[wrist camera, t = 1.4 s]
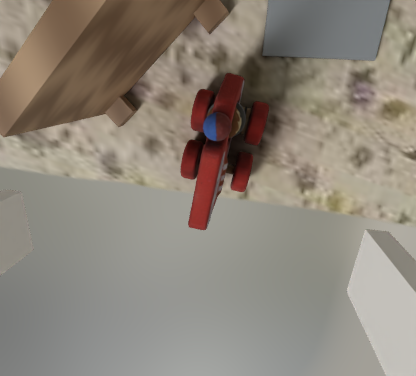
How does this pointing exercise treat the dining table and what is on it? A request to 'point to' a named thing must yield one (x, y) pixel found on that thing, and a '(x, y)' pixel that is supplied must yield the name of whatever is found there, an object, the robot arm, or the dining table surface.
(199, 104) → the toy fire truck
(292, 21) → the mat
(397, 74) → the dining table surface
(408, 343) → the robot arm
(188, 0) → the screen
